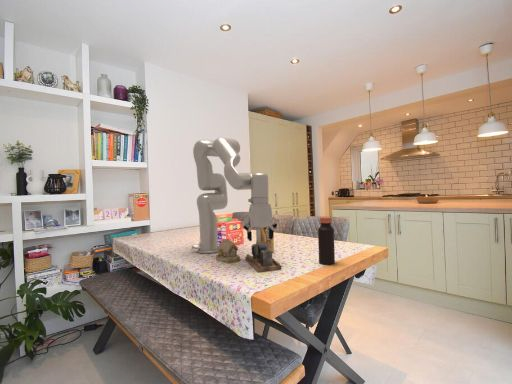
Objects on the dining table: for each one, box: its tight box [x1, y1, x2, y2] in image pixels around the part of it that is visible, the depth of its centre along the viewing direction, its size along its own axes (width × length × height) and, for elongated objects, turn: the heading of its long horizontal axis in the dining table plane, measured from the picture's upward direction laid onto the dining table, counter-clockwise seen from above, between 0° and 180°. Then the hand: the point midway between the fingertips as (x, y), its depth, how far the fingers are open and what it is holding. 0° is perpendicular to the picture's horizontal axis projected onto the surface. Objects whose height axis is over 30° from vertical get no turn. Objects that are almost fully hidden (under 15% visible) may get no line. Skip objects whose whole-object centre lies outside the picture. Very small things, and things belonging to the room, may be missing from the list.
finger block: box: [255, 241, 269, 263], centre depth 120 cm, size 4×6×8 cm
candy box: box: [255, 223, 275, 253], centre depth 141 cm, size 9×4×15 cm, turn 129°
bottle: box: [317, 216, 336, 266], centre depth 119 cm, size 7×7×20 cm
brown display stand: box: [245, 243, 282, 273], centre depth 120 cm, size 10×20×8 cm, turn 17°
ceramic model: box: [215, 238, 241, 264], centre depth 131 cm, size 14×11×10 cm
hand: (260, 239), depth 121 cm, fingers open, 9 cm apart
